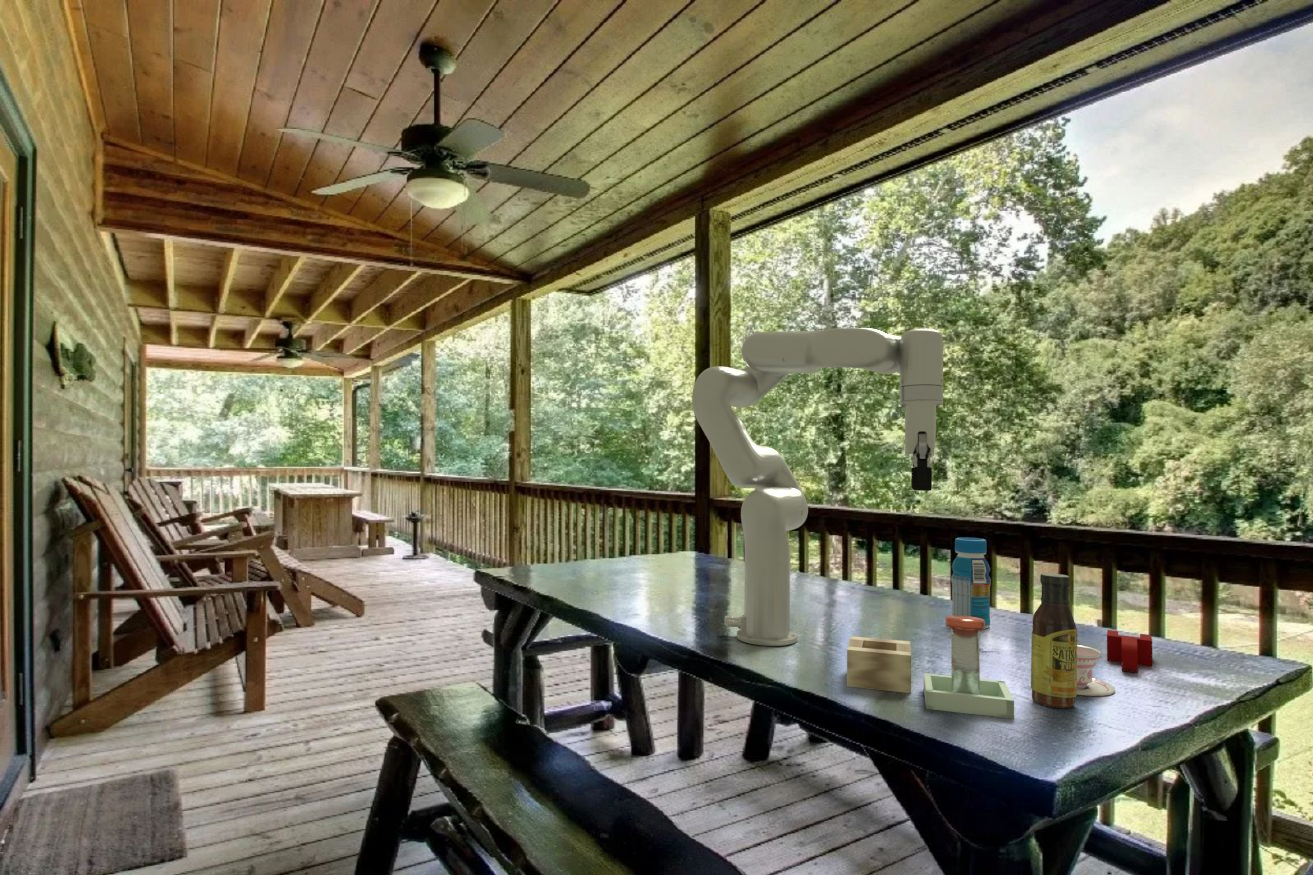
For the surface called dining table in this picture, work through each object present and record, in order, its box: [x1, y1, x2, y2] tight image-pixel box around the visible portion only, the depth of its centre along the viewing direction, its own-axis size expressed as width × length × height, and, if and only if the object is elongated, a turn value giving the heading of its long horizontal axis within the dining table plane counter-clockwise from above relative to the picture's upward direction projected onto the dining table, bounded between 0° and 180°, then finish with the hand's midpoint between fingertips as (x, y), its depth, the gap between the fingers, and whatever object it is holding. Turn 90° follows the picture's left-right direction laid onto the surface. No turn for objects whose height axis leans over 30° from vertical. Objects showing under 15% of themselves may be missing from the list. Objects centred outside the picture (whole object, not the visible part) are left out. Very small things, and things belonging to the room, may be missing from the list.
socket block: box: [846, 636, 912, 694], centre depth 121 cm, size 10×10×6 cm
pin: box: [945, 615, 985, 695], centre depth 111 cm, size 6×6×12 cm
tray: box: [923, 673, 1015, 720], centre depth 111 cm, size 12×10×3 cm
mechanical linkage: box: [1106, 629, 1153, 674], centre depth 135 cm, size 16×7×5 cm, turn 147°
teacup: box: [1076, 644, 1116, 697], centre depth 121 cm, size 12×12×6 cm
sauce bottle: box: [1030, 572, 1078, 709], centre depth 112 cm, size 7×6×20 cm
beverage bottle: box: [950, 537, 992, 630], centre depth 166 cm, size 8×8×20 cm
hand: (921, 489), depth 132 cm, fingers open, 9 cm apart
